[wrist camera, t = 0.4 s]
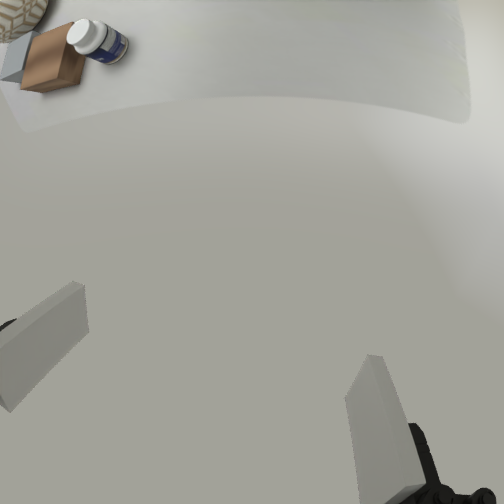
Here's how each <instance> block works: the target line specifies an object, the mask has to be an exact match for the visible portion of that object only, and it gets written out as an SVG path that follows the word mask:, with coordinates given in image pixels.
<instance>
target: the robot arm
mask: <svg viewBox="0 0 504 504" xmlns="http://www.w3.org/2000/svg"><path fill="white" fill-rule="evenodd" d="M85 299H86V298H85V285H83V284H80V283H77V282H74V281H72V282H71V283H69V284H68V285H66V286H65V287H63V288H62V289H60V290H59V291H57V292H55V293H54V294H53V295H51V296H50V297H48V298H47V299H45V300H44V301H42V302H41V303H39V304H38V305H36V306H35V307H34V308H32V309H31V310H29V311H28V312H26V313H25V314H24V315H22V316H21V317H20V318H18V319H13V320H10V321H8V322H6V323H4V324H3V325H1V326H0V405H1V406H2V407H4V408H5V409H6V410H7V411H8V412H10V413H11V412H12V411H13V410H14V408H15V407H16V406H17V405H18V404H19V403H20V402H21V401H22V400H23V399H24V398H25V397H26V395H27V394H28V393H29V392H30V391H31V390H32V389H33V388H34V387H35V386H36V385H37V384H38V383H39V382H40V381H41V380H42V379H43V378H44V377H45V376H46V374H47V373H48V372H49V371H50V370H51V369H52V368H53V367H54V366H55V365H56V364H57V363H58V362H59V361H60V360H61V359H62V358H63V357H64V356H65V355H66V354H67V353H68V352H69V351H70V350H71V349H72V348H73V347H74V346H75V345H76V344H77V343H78V342H80V341H81V340H82V339H83V338H84V337H85V336H86V335H87V334H88V333H89V328H88V319H87V310H86V300H85ZM345 401H346V407H347V413H348V419H349V424H350V431H351V438H352V444H353V451H354V458H355V466H356V473H357V481H358V490H359V499H360V504H496V497H495V495H494V493H493V492H492V491H491V490H490V489H488V488H480V489H478V490H477V491H475V492H474V493H473V494H472V495H460V494H455V493H454V491H453V490H452V489H451V488H450V487H449V486H447V485H443V484H441V482H440V480H439V477H438V473H437V470H436V467H435V464H434V461H433V458H432V455H431V453H430V449H429V446H428V445H427V441H426V438H425V435H424V433H423V431H422V430H421V429H420V427H419V426H418V425H417V424H416V423H408V422H407V420H406V417H405V414H404V411H403V408H402V406H401V403H400V400H399V397H398V395H397V392H396V389H395V387H394V384H393V382H392V379H391V377H390V374H389V371H388V369H387V366H386V364H385V362H384V359H383V357H381V356H374V355H367V357H366V359H365V361H364V363H363V365H362V367H361V369H360V371H359V373H358V375H357V377H356V378H355V380H354V382H353V384H352V386H351V388H350V390H349V391H348V393H347V395H346V397H345Z"/></svg>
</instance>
